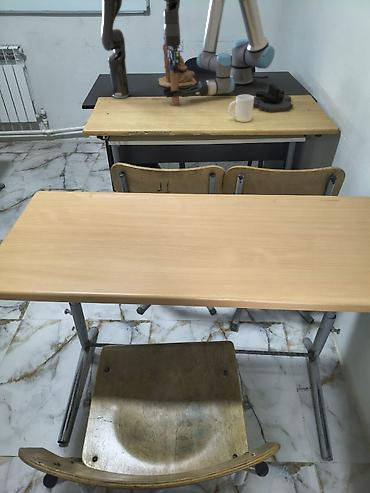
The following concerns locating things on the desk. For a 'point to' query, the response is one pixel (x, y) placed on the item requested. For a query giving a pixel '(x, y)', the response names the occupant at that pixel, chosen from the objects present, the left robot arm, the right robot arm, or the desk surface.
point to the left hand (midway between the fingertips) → (174, 71)
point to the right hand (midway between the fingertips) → (165, 93)
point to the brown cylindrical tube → (174, 86)
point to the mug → (242, 108)
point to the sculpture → (183, 74)
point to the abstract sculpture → (272, 100)
